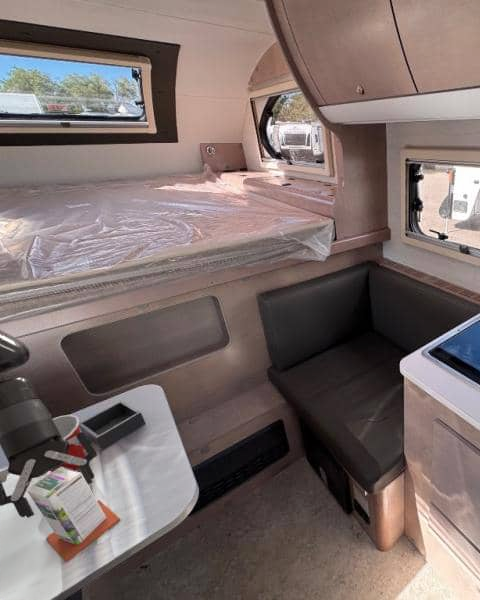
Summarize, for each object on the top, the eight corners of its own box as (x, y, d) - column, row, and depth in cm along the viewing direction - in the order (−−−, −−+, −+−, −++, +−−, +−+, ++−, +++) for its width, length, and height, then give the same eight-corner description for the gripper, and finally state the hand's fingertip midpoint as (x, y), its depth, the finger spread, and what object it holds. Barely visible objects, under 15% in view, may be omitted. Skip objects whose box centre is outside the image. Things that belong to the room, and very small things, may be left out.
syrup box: (57, 538, 66) (23, 492, 60) (88, 510, 71) (60, 464, 65) (78, 546, 65) (45, 499, 59) (108, 516, 70) (81, 471, 64)
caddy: (103, 450, 86) (96, 438, 84) (84, 436, 90) (77, 424, 88) (145, 423, 94) (140, 412, 92) (126, 411, 98) (121, 400, 96)
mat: (66, 562, 63) (66, 561, 62) (46, 539, 66) (45, 537, 66) (120, 519, 70) (119, 518, 70) (99, 500, 74) (98, 499, 73)
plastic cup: (30, 476, 79) (5, 440, 74) (84, 443, 88) (65, 409, 83) (52, 494, 75) (28, 458, 70) (107, 457, 84) (88, 423, 79)
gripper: (-37, 448, 58) (3, 529, 56) (70, 404, 68) (106, 471, 66) (-24, 454, 63) (13, 528, 61) (74, 411, 73) (108, 474, 72)
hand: (62, 498), depth 64 cm, fingers open, 8 cm apart
